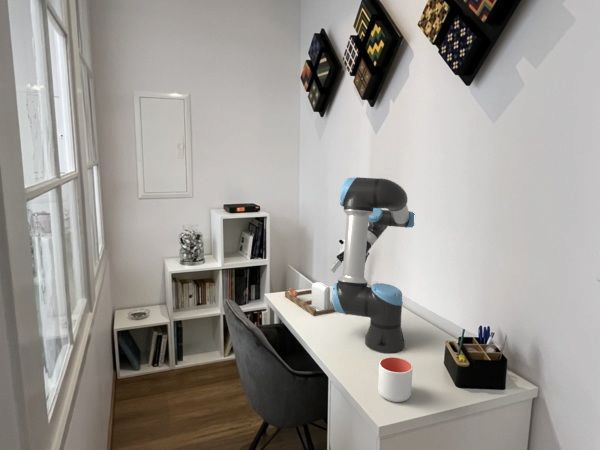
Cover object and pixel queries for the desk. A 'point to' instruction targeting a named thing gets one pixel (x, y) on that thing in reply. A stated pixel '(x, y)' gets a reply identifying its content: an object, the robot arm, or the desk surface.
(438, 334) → the desk surface
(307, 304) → the wooden stand frame
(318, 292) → the photo printer
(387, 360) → the cup
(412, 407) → the desk surface
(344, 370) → the desk surface
